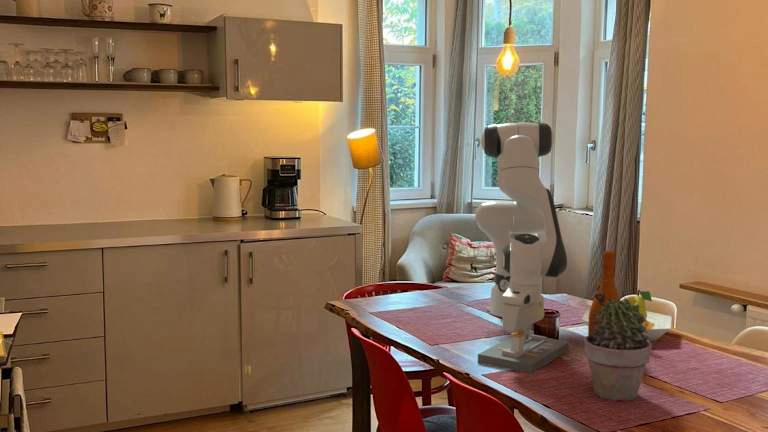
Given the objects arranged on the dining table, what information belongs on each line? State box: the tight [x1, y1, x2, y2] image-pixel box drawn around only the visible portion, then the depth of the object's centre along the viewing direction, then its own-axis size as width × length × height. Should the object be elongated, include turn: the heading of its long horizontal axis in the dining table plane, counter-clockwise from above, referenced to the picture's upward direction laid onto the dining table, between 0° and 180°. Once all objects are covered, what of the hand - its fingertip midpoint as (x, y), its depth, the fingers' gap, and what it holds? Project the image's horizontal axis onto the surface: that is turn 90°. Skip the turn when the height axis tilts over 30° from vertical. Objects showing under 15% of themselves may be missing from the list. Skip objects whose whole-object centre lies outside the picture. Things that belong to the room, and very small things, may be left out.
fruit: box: [581, 289, 672, 342], centre depth 240 cm, size 30×26×14 cm
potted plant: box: [578, 289, 663, 402], centre depth 186 cm, size 18×20×25 cm
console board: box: [477, 333, 570, 374], centre depth 218 cm, size 26×16×4 cm, turn 145°
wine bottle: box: [587, 249, 622, 336], centre depth 218 cm, size 10×10×30 cm
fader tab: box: [509, 332, 525, 353], centre depth 213 cm, size 3×3×5 cm
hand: (523, 341), depth 216 cm, fingers closed
